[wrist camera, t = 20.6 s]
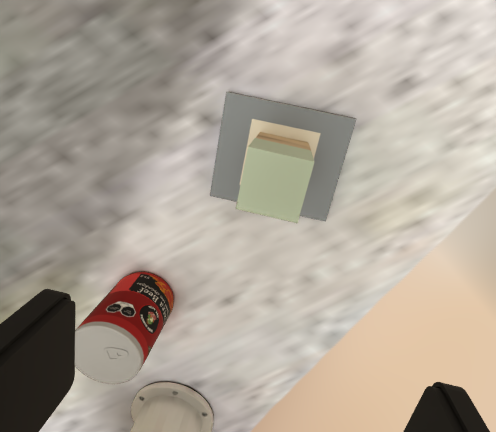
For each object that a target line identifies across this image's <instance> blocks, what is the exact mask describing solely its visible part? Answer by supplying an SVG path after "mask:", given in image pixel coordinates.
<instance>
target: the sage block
mask: <svg viewBox="0 0 496 432" xmlns="http://www.w3.org/2000/svg"><path fill="white" fill-rule="evenodd" d="M314 162H315V161H314V158H313V155H312V152H311V150H307V149H303V148H298V147H294V146H289V145H285V144H280V143H276V142H272V141H267V140H263V139H258V138H254V140H253V141H252V142H251V144H250V145H249V146H248V151H247V155H246V160H245V165H244V170H243V175H242V180H241V185H240V190H239V195H238V200H237V205H236V209H238V210H243V211H247V212H251V213H255V214H260V215H264V216H268V217H272V218H277V219H281V220H285V221H290V222H294V223H298V219H299V216H300V212H301V209H302V205H303V202H304V198H305V194H306V191H307V187H308V184H309V180H310V177H311V173H312V170H313V166H314Z"/></svg>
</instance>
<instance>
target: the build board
mask: <svg viewBox="0 0 496 432" xmlns="http://www.w3.org/2000/svg"><path fill="white" fill-rule="evenodd" d="M355 122H356V119H355V118H351V117H346V116H342V115H337V114H332V113H327V112H323V111H318V110H313V109H308V108H303V107H299V106H294V105H289V104H284V103H280V102H275V101H270V100H265V99H261V98H256V97H251V96H246V95H242V94H237V93H232V92H226V98H225V104H224V110H223V117H222V123H221V129H220V136H219V142H218V148H217V154H216V161H215V167H214V173H213V180H212V186H211V192H210V196H213V197H218V198H222V199H227V200H231V201H236V202H237V200H238V195H239V190H240V185H241V180H242V175H243V170H244V165H245V160H246V155H247V151H248V146H249V145H250V144H251V142H252V141H253V140H254V138H256V137H257V135H258V134H259V132H263V133H268V134H272V135H277V136H282V137H286V138H291V139H295V140H300V141H305V142H308V143H309V146H310V149H311V152H312V155H313V158H314V161H315V162H314V166H313V170H312V173H311V177H310V180H309V184H308V187H307V191H306V194H305V198H304V202H303V205H302V209H301V212H300V216H303V217H307V218H312V219H316V220H321V221H325V222H326V218H327V215H328V212H329V208H330V205H331V202H332V198H333V195H334V192H335V188H336V185H337V182H338V179H339V175H340V172H341V169H342V165H343V162H344V159H345V155H346V152H347V149H348V145H349V142H350V139H351V135H352V132H353V129H354V126H355Z"/></svg>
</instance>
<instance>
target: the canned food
mask: <svg viewBox="0 0 496 432" xmlns="http://www.w3.org/2000/svg"><path fill="white" fill-rule="evenodd" d="M172 308H173V293H172V290H171V288H170V287H169V285H168V284H167V283H166V282H165V281H164V280H163V279H161V278H160V277H158V276H156V275H154V274H151V273H147V272H136V273H132V274H130V275H128V276H126V277H124V278H123V279H121V280H120V281H119V282H118V283H117V284H116V286H115V287H114V288H113V289H112V290H111V291H110V292H109V293H108V294H107V296H106V297H105V298H104V299H103V300H102V301H101V302H100V303H99V304H98V306H97V307H96V308H95V309H94V310H93V311H92V312H91V313H90V314H89V316H88V317H87V318H86V319H85V320H84V321H83V322H82V323H81V325H80V326H79V327H78V328H77V329H76V330H75V367H76V368H77V369H78V370H79V371H80V372H82V373H83V374H84V375H86V376H87V377H89V378H91V379H93V380H95V381H98V382H102V383H107V384H119V383H124V382H127V381H129V380H131V379H132V378H133V377H135V376H136V375H137V373H138V372H139V370H140V369H141V367H142V365H143V364H144V362H145V360H146V358H147V357H148V355H149V353H150V351H151V349H152V347H153V345H154V343H155V341H156V339H157V338H158V336H159V334H160V332H161V330H162V328H163V326H164V324H165V322H166V321H167V319H168V317H169V315H170V313H171V311H172Z"/></svg>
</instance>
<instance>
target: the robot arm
mask: <svg viewBox="0 0 496 432" xmlns="http://www.w3.org/2000/svg"><path fill="white" fill-rule="evenodd" d="M74 376H75V302H74V301H71V298H70V295H69V294H67V293H63V292H59V291H54V290H50V289H44V290H43V291H41V292H40V293H39V294H37V295H36V296H35V297H34V298H32V299H31V300H30V301H29V302H27V303H26V304H25V305H24V306H22V307H21V308H20V309H19V310H17V311H16V312H15V313H14V314H12V315H11V316H10V317H9V318H7V319H6V320H5V321H4V322H2V323H1V324H0V432H39V431H40V429H41V428H42V427H43V425H44V424H45V422H46V421H47V420H48V418H49V417H50V416H51V414H52V413H53V412H54V410H55V409H56V408H57V406H58V405H59V404H60V402H61V401H62V400H63V398H64V397H65V395H66V394H67V393H68V391H69V390H70V388H71V386H72V384H73V381H74ZM131 415H132V419H133V421H134V425H133V427H132V429H131V431H130V432H211V431H212V427H213V422H214V419H213V413H212V409H211V408H210V406H209V404H208V403H207V402H206V400H205V399H204V398H203V397H202V396H201V395H199V394H198V393H197V392H195V391H194V390H192V389H190V388H188V387H186V386H184V385H180V384H177V383H170V382H159V383H154V384H151V385H148V386H146V387H144V388H143V389H141V390H140V391H139V392H138V393H137V395H136V397H135V399H134V400H133V403H132V406H131ZM404 432H490V431H489V429H488V428H487V426H486V424H485V423H484V421H483V419H482V418H481V416H480V414H479V413H478V411H477V409H476V408H475V406H474V404H473V403H472V401H471V399H470V397H469V396H468V394H467V393H466V391H465V390H464V389H463V388H461V387H458V386H453V385H449V384H444V383H441V382H436V383H434V384H433V386H428V387H427V388H426V389H425V391H424V393H423V395H422V397H421V399H420V401H419V403H418V405H417V406H416V408H415V410H414V413H413V414H412V416H411V418H410V420H409V422H408V424H407V426H406V428H405V430H404Z"/></svg>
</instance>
